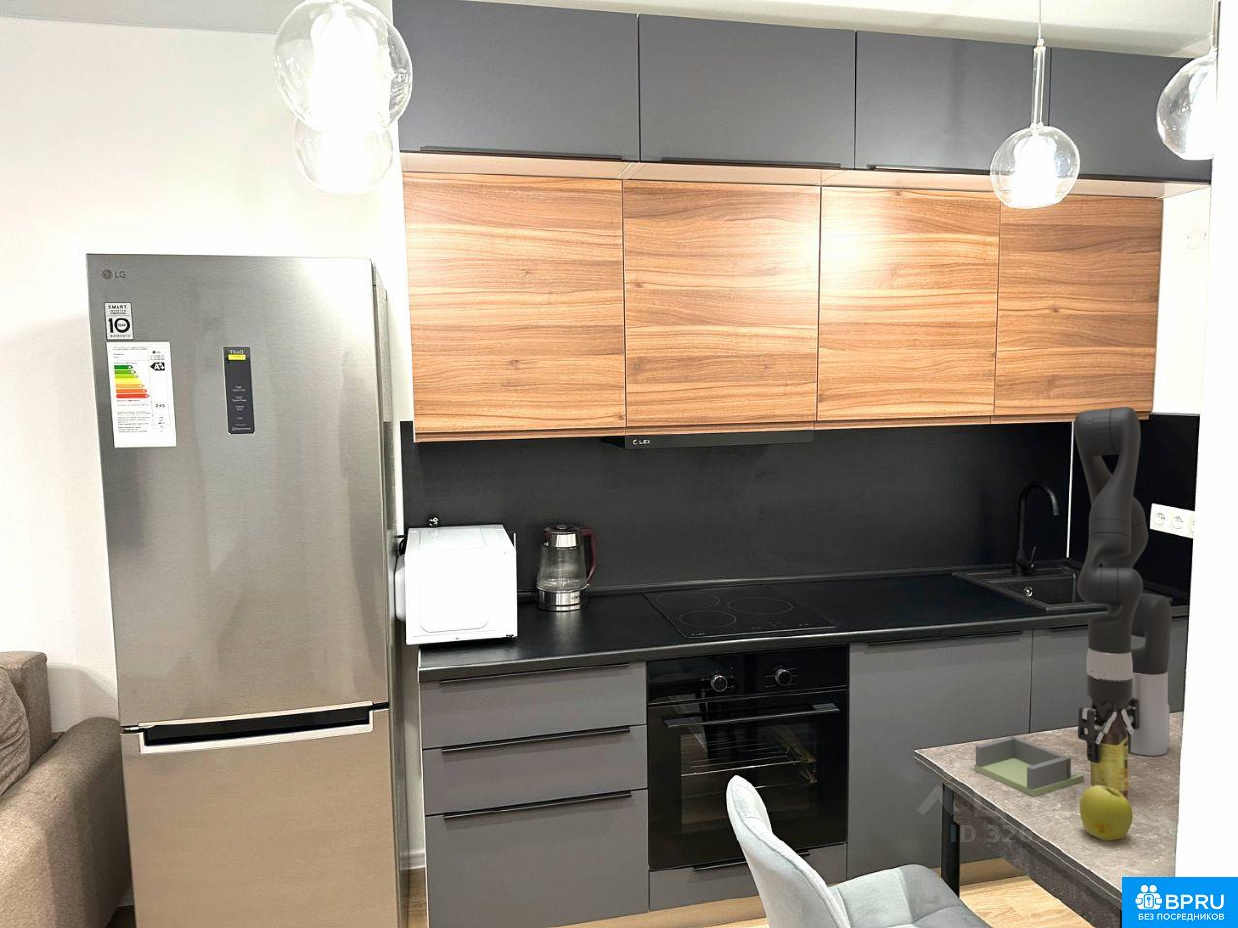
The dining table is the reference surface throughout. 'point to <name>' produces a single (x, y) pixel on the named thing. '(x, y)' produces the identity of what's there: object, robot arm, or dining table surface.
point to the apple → (1105, 812)
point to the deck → (1025, 766)
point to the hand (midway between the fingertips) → (1109, 756)
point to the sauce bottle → (1113, 756)
